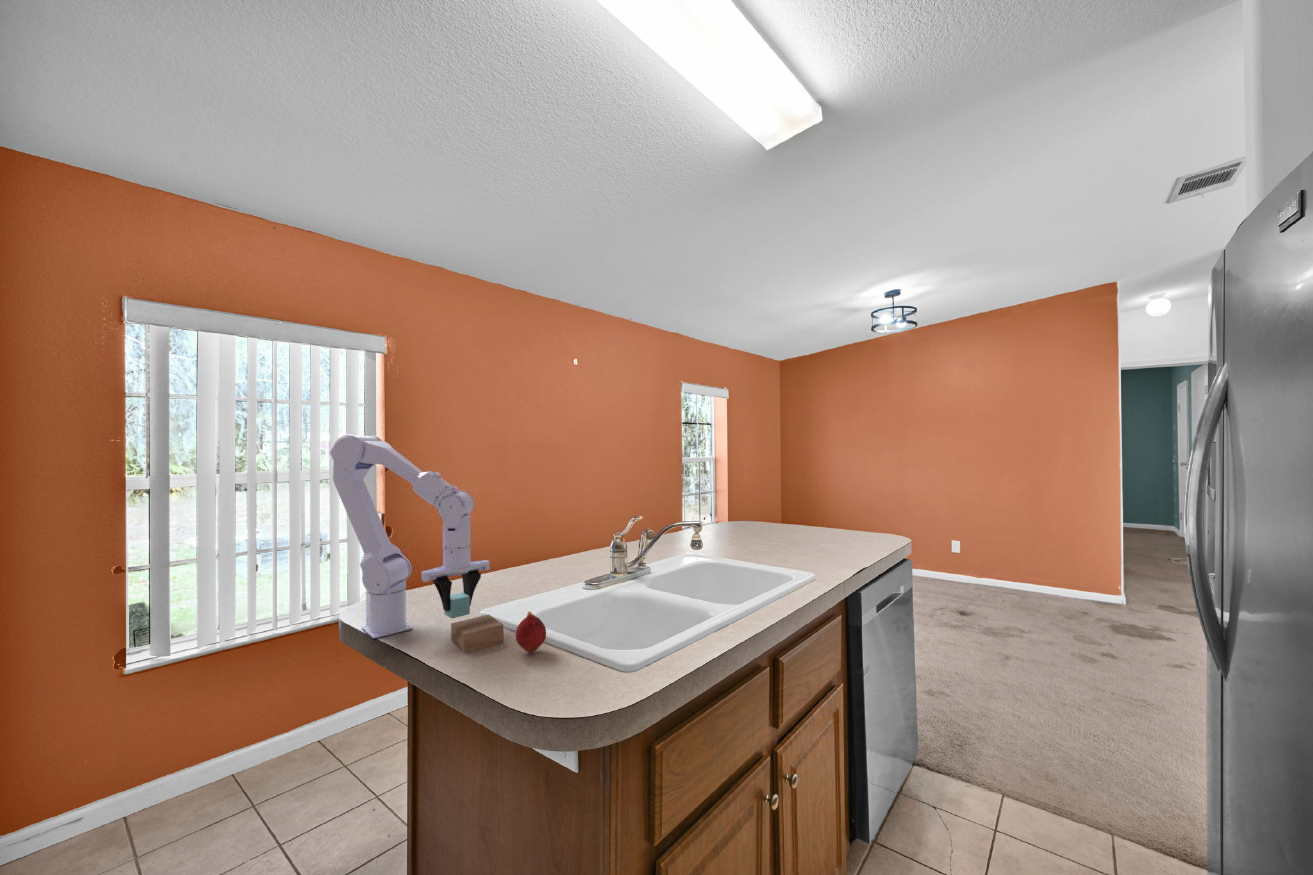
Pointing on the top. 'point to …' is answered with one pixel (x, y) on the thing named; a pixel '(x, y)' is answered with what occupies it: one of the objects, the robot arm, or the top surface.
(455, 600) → the teal cube
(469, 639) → the walnut block
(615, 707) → the top surface
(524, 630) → the onion
